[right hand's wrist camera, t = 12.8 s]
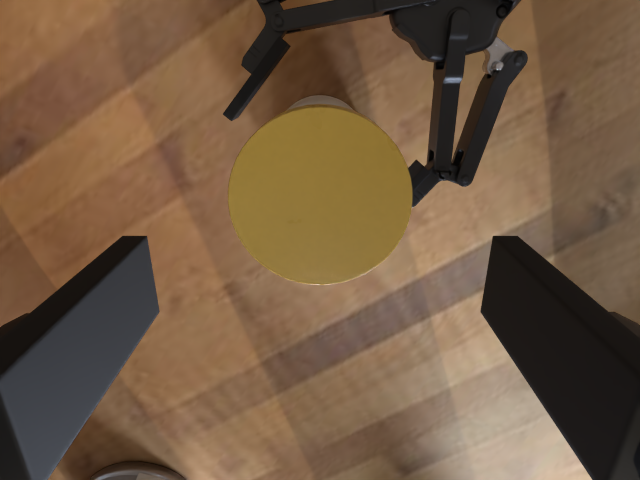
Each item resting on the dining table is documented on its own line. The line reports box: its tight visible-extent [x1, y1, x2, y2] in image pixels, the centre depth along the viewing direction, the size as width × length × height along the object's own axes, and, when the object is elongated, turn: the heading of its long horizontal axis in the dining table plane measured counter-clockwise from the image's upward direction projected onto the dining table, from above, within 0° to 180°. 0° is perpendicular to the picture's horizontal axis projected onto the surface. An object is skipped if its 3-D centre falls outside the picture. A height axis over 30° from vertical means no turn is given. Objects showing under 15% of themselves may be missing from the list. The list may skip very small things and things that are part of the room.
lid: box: [228, 104, 412, 285], centre depth 22 cm, size 9×9×2 cm
